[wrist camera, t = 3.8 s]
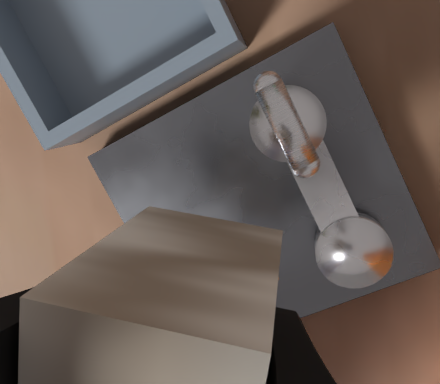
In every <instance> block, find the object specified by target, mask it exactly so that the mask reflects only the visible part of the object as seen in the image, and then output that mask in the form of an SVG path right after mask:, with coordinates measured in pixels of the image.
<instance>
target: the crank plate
mask: <svg viewBox="0 0 440 384" xmlns="http://www.w3.org/2000/svg"><path fill="white" fill-rule="evenodd" d="M264 71H273V72H276V73H277V74H278V75H279V76H280V77H281V78H282V80H283V83H284V85H295V86H299V87H302V88H305V89H307V90H309V91H310V92H312V93H313V94H314V95H315V96H316V97H317V98H318V99H319V101H320V102H321V104H322V105H323V108H324V110H325V114H326V120H327V125H326V132H325V135H324V138H323V141H324V143H325V145H326V147H327V149H328V152H329V154H330V156H331V158H332V160H333V162H334V164H335V166H336V169H337V171H338V173H339V175H340V177H341V179H342V181H343V184H344V186H345V188H346V190H347V192H348V194H349V196H350V198H351V201H352V203H353V205H354V207H355V209H356V211H357V212H361V213H365V214H367V215H369V216H371V217H373V218H374V219H376V220H377V221H378V222H379V223H380V224H381V226H382V227H383V228H384V230H385V231H386V233H387V235H388V236H389V238H390V240H391V243H392V246H393V261H392V264H391V267H390V269H389V271H388V272H387V273H386V275H385V276H384V277H383V278H382V279H380V280H379V281H378V282H376V283H375V284H373V285H370V286H367V287H364V288H355V289H353V288H345V287H341V286H339V285H336V284H334V283H333V282H331V281H330V280H328V279H327V278H326V277H325V276H324V275H323V274H322V272H321V271H320V269H319V267H318V265H317V262H316V256H315V247H314V243H315V237H316V234H317V231H318V229H319V227H318V225H317V223H316V221H315V219H314V217H313V215H312V213H311V211H310V209H309V207H308V205H307V203H306V200H305V198H304V196H303V194H302V192H301V190H300V188H299V186H298V184H297V182H296V180H295V178H294V176H293V174H292V172H291V170H290V168H289V165H288V163H287V162H280V161H276V160H273V159H271V158H269V157H267V156H265V155H264V154H263V153H262V152H261V151H260V150H259V149H258V148H257V147H256V145H255V144H254V142H253V140H252V137H251V134H250V128H249V121H250V115H251V112H252V109H253V107H254V105H255V103H256V102H257V101H258V99H257V97H256V95H255V93H254V89H253V84H254V80H255V78H256V77H257V76H258V75H259V74H260V73H262V72H264ZM88 159H89V161H90V163H91V164H92V166H93V168H94V170H95V172H96V173H97V175H98V177H99V179H100V181H101V182H102V184H103V186H104V188H105V190H106V191H107V193H108V195H109V197H110V199H111V200H112V202H113V204H114V206H115V208H116V209H117V211H118V213H119V215H120V217H121V218H122V220H123V222H124V223H126V222H127V221H129V220H130V219H132V218H133V217H134V216H136V215H137V214H139V213H140V212H142V211H143V210H144V209H146V208H147V207H149V206H151V207H157V208H162V209H168V210H173V211H179V212H184V213H190V214H195V215H201V216H206V217H212V218H217V219H223V220H228V221H234V222H239V223H245V224H250V225H256V226H261V227H266V228H272V229H277V230H283V234H282V244H281V255H280V266H279V276H278V287H277V298H276V307H278V308H283V309H288V310H293V311H296V312H297V314H298V315H299V317H300V318H302V317H305V316H308V315H310V314H313V313H316V312H319V311H322V310H324V309H327V308H330V307H333V306H336V305H338V304H341V303H344V302H347V301H350V300H352V299H355V298H358V297H361V296H364V295H366V294H369V293H372V292H375V291H378V290H381V289H383V288H386V287H389V286H392V285H395V284H397V283H400V282H403V281H406V280H409V279H411V278H414V277H417V276H420V275H423V274H425V273H428V272H431V271H434V270H437V269H439V268H440V260H439V258H438V256H437V253H436V251H435V249H434V247H433V244H432V242H431V240H430V238H429V235H428V233H427V231H426V229H425V226H424V224H423V222H422V220H421V218H420V215H419V213H418V211H417V209H416V206H415V204H414V202H413V200H412V197H411V195H410V193H409V191H408V188H407V186H406V184H405V182H404V180H403V177H402V175H401V173H400V171H399V168H398V166H397V164H396V162H395V159H394V157H393V155H392V153H391V150H390V148H389V146H388V144H387V141H386V139H385V137H384V135H383V133H382V130H381V128H380V126H379V124H378V121H377V119H376V117H375V115H374V112H373V110H372V108H371V106H370V103H369V101H368V99H367V97H366V95H365V92H364V90H363V88H362V86H361V83H360V81H359V79H358V77H357V74H356V72H355V70H354V68H353V65H352V63H351V61H350V59H349V57H348V54H347V52H346V50H345V48H344V45H343V43H342V41H341V39H340V36H339V34H338V32H337V30H336V27H335V25H334V23H333V22H332V23H331V24H329V25H327V26H325V27H323V28H321V29H320V30H318V31H316V32H314V33H312V34H311V35H309V36H307V37H305V38H303V39H301V40H300V41H298V42H296V43H294V44H292V45H290V46H289V47H287V48H285V49H283V50H281V51H280V52H278V53H276V54H274V55H272V56H270V57H269V58H267V59H265V60H263V61H261V62H260V63H258V64H256V65H254V66H252V67H250V68H249V69H247V70H245V71H243V72H241V73H240V74H238V75H236V76H234V77H232V78H230V79H229V80H227V81H225V82H223V83H221V84H220V85H218V86H216V87H214V88H212V89H210V90H209V91H207V92H205V93H203V94H201V95H200V96H198V97H196V98H194V99H192V100H190V101H189V102H187V103H185V104H183V105H181V106H179V107H178V108H176V109H174V110H172V111H170V112H169V113H167V114H165V115H163V116H161V117H159V118H158V119H156V120H154V121H152V122H150V123H149V124H147V125H145V126H143V127H141V128H139V129H138V130H136V131H134V132H132V133H130V134H129V135H127V136H125V137H123V138H121V139H119V140H118V141H116V142H114V143H112V144H110V145H109V146H107V147H105V148H103V149H101V150H99V151H98V152H96V153H94V154H92V155H90V156H88Z"/></svg>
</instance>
